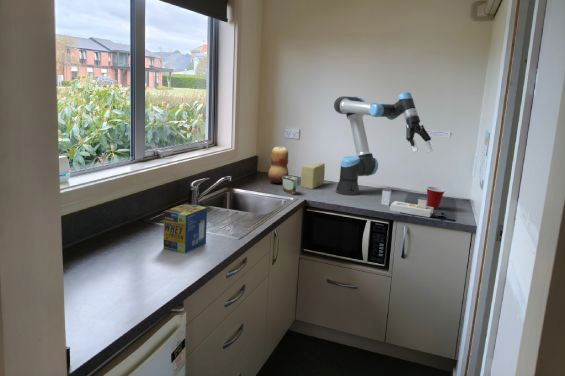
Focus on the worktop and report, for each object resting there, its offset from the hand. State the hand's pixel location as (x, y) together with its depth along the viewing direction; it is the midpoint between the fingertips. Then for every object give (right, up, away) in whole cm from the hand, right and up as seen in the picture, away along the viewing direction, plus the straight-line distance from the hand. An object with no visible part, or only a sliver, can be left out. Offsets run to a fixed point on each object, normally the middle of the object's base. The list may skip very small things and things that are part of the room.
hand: (423, 151), depth 267 cm
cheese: (-58, -20, +53) cm, 81 cm away
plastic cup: (+9, -33, +10) cm, 36 cm away
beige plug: (-2, -35, -4) cm, 35 cm away
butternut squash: (-83, -18, +54) cm, 101 cm away
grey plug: (-19, -30, +13) cm, 38 cm away
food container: (-75, -24, +28) cm, 83 cm away
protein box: (-119, -44, -77) cm, 149 cm away
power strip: (-4, -35, -3) cm, 35 cm away
